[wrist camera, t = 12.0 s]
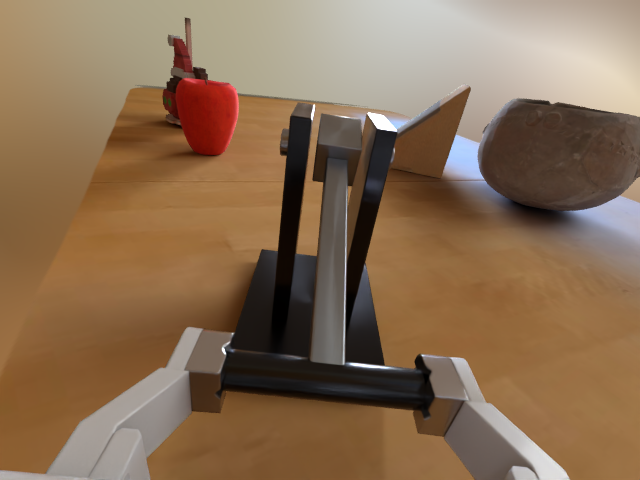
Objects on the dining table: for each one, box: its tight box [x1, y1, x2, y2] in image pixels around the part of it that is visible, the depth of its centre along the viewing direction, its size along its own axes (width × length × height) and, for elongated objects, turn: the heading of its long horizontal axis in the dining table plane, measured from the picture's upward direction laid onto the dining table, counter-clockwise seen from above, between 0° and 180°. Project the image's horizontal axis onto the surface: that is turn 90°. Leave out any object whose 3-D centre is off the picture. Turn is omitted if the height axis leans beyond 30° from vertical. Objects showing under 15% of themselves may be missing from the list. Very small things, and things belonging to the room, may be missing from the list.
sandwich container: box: [391, 84, 471, 178], centre depth 60 cm, size 9×15×15 cm, turn 75°
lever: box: [222, 114, 426, 411], centre depth 14 cm, size 14×6×2 cm, turn 179°
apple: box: [176, 77, 239, 155], centre depth 51 cm, size 9×9×11 cm
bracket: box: [233, 103, 398, 366], centre depth 20 cm, size 12×9×14 cm
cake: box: [162, 18, 208, 126], centre depth 62 cm, size 11×9×18 cm
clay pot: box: [478, 99, 640, 211], centre depth 51 cm, size 21×21×15 cm
